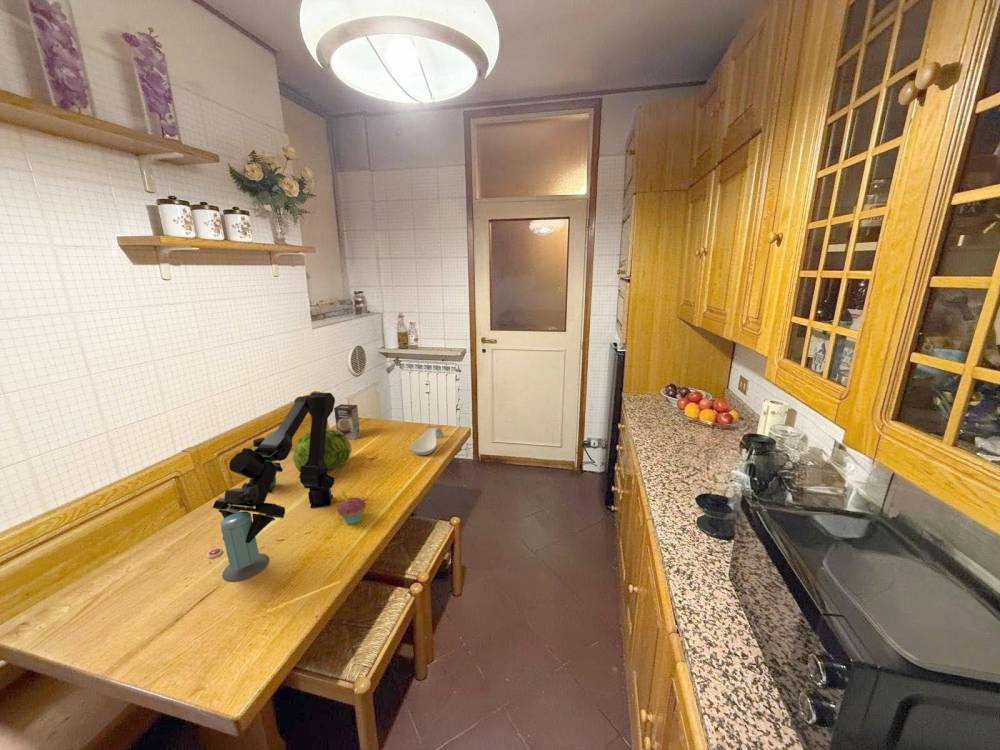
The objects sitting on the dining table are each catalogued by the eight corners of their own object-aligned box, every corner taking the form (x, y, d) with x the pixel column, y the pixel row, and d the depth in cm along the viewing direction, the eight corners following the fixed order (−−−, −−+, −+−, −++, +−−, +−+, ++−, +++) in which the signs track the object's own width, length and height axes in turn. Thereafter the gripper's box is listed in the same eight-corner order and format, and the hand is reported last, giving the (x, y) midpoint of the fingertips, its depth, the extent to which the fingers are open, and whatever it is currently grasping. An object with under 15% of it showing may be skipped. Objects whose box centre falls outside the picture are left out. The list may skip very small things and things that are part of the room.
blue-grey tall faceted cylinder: (258, 547, 113) (250, 508, 110) (260, 561, 108) (251, 520, 104) (230, 557, 110) (220, 517, 106) (230, 572, 104) (220, 530, 101)
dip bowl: (223, 550, 117) (222, 546, 117) (221, 557, 114) (221, 553, 114) (208, 553, 116) (207, 549, 115) (206, 561, 113) (205, 557, 112)
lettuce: (369, 442, 170) (340, 414, 175) (327, 456, 148) (296, 423, 153) (349, 473, 175) (322, 445, 179) (306, 490, 153) (276, 458, 158)
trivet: (274, 551, 116) (274, 550, 116) (262, 578, 105) (261, 577, 105) (232, 558, 113) (232, 557, 113) (215, 586, 103) (214, 585, 103)
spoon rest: (431, 459, 172) (430, 444, 170) (406, 457, 174) (405, 442, 173) (450, 438, 194) (449, 424, 192) (427, 436, 197) (426, 422, 195)
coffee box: (337, 439, 195) (333, 408, 192) (344, 434, 202) (340, 403, 198) (354, 440, 194) (350, 408, 190) (361, 434, 200) (357, 404, 196)
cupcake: (340, 530, 124) (335, 496, 122) (337, 516, 132) (333, 484, 129) (369, 522, 128) (365, 489, 125) (364, 509, 136) (360, 477, 133)
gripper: (211, 472, 108) (181, 532, 101) (270, 477, 105) (244, 540, 97) (240, 483, 118) (215, 539, 110) (295, 488, 114) (273, 547, 106)
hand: (235, 541), depth 106 cm, fingers closed on blue-grey tall faceted cylinder, 7 cm apart
